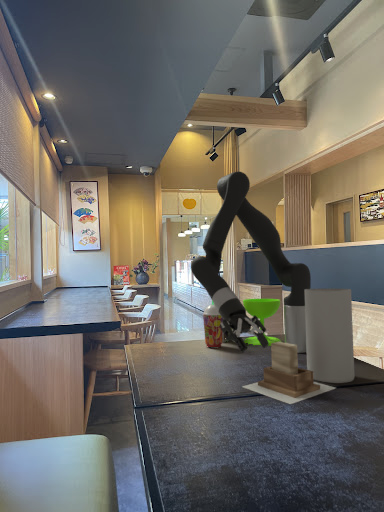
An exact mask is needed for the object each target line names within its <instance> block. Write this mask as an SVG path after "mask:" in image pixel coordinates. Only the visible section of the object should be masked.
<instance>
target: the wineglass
mask: <svg viewBox="0 0 384 512" xmlns="http://www.w3.org/2000/svg"><path fill="white" fill-rule="evenodd" d="M242 305H243V306H244V308H245V309H246V313H247V314H249V316H251V317H253V316H256V317H257V318H258V319H259V320H260V322H261V323H262V324H263V326H264V327H265V319H268V318H270V317H272V316H273V315H275V314H276V313H277V311H278V310H279V308H280V305H281V299H277V298H246V299H243V300H242ZM259 329H261V328H260V327H259ZM263 335H264V336H265V338H266V339H267V340H268V343H269V345H268V346H267V347H271V343H275V342H282V340H281V339H280V338H278V337H273V336H267V335H266V333H265V332H264V333H263ZM243 341H244V342H245V344H246V343H248V344H247V345H249V344H253V345H252V346H255V345H261V344H260V342H259V341H258V339H257V337H255V336H250V337H247V338H245V339H243ZM260 347H262V345H261V346H260Z"/></svg>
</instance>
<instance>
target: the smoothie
mask: <svg viewBox="0 0 384 512" xmlns="http://www.w3.org/2000/svg"><path fill="white" fill-rule="evenodd" d="M202 317H203V329H204V341H205V342H204V343H205V345H206V347H207V346H208V347H219V348H221V347H222V344H223V342H222V333H223V331H222V329H221V328H220V324H221V322H222V321H223V318H222V317H221V315H220V314H219V312H218V310H217V309H216V307H215V305H214V303H213V301H212V300H211V303H210V305H207V306H206V308H205V309H204V310H203V313H202ZM208 347H207V348H208Z"/></svg>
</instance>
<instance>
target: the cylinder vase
mask: <svg viewBox="0 0 384 512" xmlns="http://www.w3.org/2000/svg"><path fill="white" fill-rule="evenodd" d="M305 319H306V349H307V352H306V370H310V371H313V381H316V382H317V381H318V382H322V383H330V384H345V383H350V382H353V381H354V380H355V357H354V355H355V353H354V330H353V304H352V289H350V288H333V287H331V288H310V289H305Z"/></svg>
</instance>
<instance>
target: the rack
mask: <svg viewBox="0 0 384 512" xmlns="http://www.w3.org/2000/svg"><path fill="white" fill-rule="evenodd" d="M257 382H258V386H261V387H264V388H267V389H270V390H273V391H276V392H279V393H282V394H285V395H288V396H291V397H294V398H296V397H299V396H302V395H305V394H307V393H310V392H313V391H316V390H319V389H320V385H318V384H314V382H315V381H314V379H313V371H310V370H307V368H306V369H305V368H302V367H298V374H296V375H291V374H288V373H284V372H280V371H277V370H273V369H272V365H271V366H267V367H264V368H263V380H262V379H261V380H259V381H257Z"/></svg>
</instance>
